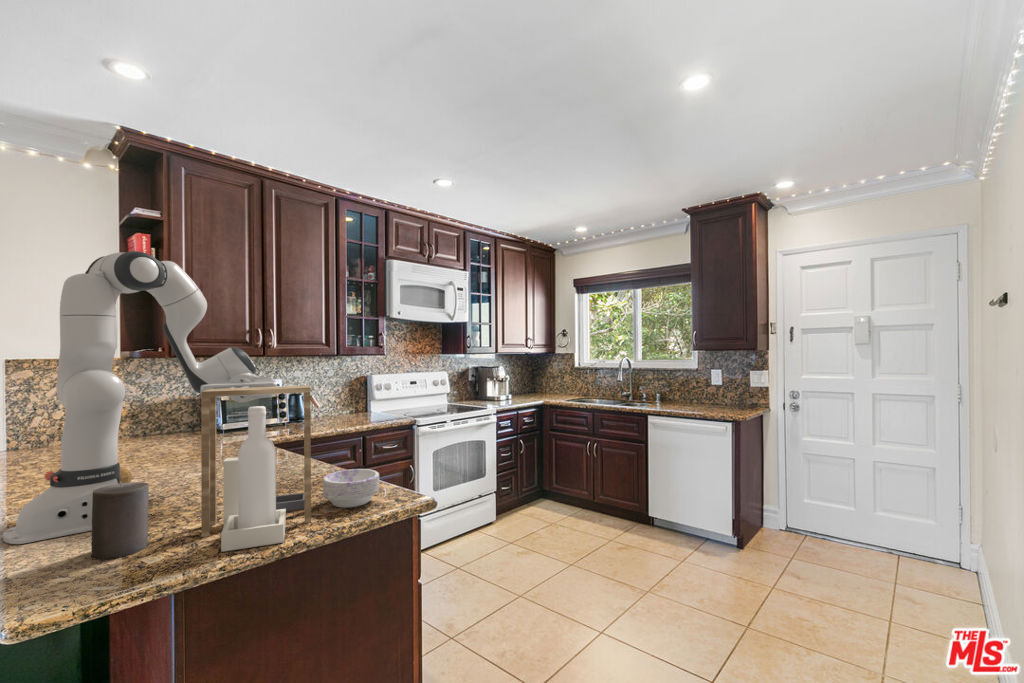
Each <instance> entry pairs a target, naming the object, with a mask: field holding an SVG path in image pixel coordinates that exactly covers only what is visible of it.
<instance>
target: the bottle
mask: <svg viewBox="0 0 1024 683" xmlns="http://www.w3.org/2000/svg"><path fill="white" fill-rule="evenodd" d="M266 410H267V408H266V406H264V405H260V406H259V405H256V406H249V407H248V410H247V413H246V414H247V419H248V420H247V425H248V426H247V432H248V433H247V437H248V438H246V439H245V440H244V441H243V442H242V443H241V444H240V446H239V448H238V452H237V457H238V529H243V528H250V527H257V526H264V525H271V524H277V521H276V496H277V455H276V454H277V450H276V447H275V443H274V442H273V441H272V440H271V439H270V438H269V437H267V432H266V429H267V426H266V425H267V424H266V417H267V416H266V415H267V411H266Z"/></svg>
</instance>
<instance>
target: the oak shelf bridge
mask: <svg viewBox="0 0 1024 683" xmlns="http://www.w3.org/2000/svg"><path fill="white" fill-rule="evenodd" d="M298 393H299V394H301V393H303V449H304V450H303V452H304V453H303V459H304V460H303V462H304V463H303V464H304V465H303V466H304V468H303V471H304V473H303V474H304V478H303V479H304V482H303V485H304V490H303V491H304V492H303V493H304V494H305V509H304V523H305V524H306V523H307V524H308V523H312V462H311V461H312V459H311V457H312V456H311V455H312V453H311V452H312V448H311V446H312V445H311V442H312V440H311V439H312V438H311V435H312V434H311V433H312V432H311V428H312V427H311V420H312V419H311V418H312V417H311V385H310V384H309V385H286V386H285V385H284V386H282V385H281V386H277V387H255V388H229V389H209V390H205V391H202V392H201V393H200V397H201V398H200V399H201V401H200V402H201V409H200V410H201V413H200V414H201V416H200V417H201V425H200V427H201V429H200V432H201V433H200V434H201V437H200V438H201V442H200V443H201V444H200V445H201V449H200V451H201V453H200V455H201V468H200V470H201V471H200V472H201V475H200V476H201V478H200V479H201V480H200V481H201V485H200V486H201V495H200V496H201V497H200V498H201V499H200V500H201V503H200V504H201V509H200V511H201V513H200V514H201V517H200V519H201V520H200V521H201V523H200V524H201V530H200V531H201V532H200V533H201V537H200V538H207V537H210V535H211V526H214V525H217V520H218V519H217V509H218V508H217V397H216V396H225V397H229V396H235V395H258V394H276V395H277V394H298Z"/></svg>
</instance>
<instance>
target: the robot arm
mask: <svg viewBox="0 0 1024 683" xmlns="http://www.w3.org/2000/svg"><path fill="white" fill-rule="evenodd" d="M63 282H64V283H63V285H62V290H61V294H60V302H59V339H60V340H59V342H60V343H59V345H60V346H59V347H60V348H59V356H58V368H57V379H56V395H57V396H56V397H57V400H58V401H59V402H60V404H62V405H63V406H64V407H65V417H64V418H65V419H64V423H63V424H64V425H63V431H62V434H61V437H60V438H61V439H60V443H61V444H60V469H59V470H57V471H55V472H54V471H47V472H46V473H45V474H44V476H43V478H44V479H45V480H47V481H49V487H48V488H47V489H45V490H44V491H43V492H41V493H40V494H38V495H37V496H36V497H35V498H32V499H31V500H30V501H29V502H27V503H26V504H24V505H23V506H22V508H20V510H19V513H18V516H17V519H16V523H15V526H14V527H10V528H9V529H6V530H5V531H4V532H3V533H2V540H3V542H5V543H6V544H11V545H21V544H23V545H24V544H28V543H32V542H37V541H43V540H44V541H45V540H49V539H53V538H60V537H63V536H70V535H75V534H79V533H84V532H90V531H91V532H92V498H93V491H94V490H95V489H97V488H100V487H104V486H108V485H113V484H119V483H120V467H121V464H120V462H119V456H118V454H119V441H118V440H119V430H120V424H121V420H122V419H121V418H122V413H123V405H124V404H123V403H124V399H125V396H126V387H125V385H124V382H123V381H122V380H121V378H119V376H117V374H114V373H113V367H114V360H115V354H116V351H117V348H118V342H117V341H118V338H117V336H118V335H117V334H118V333H117V329H118V328H117V309H116V305H117V300H118V298H119V296H120V295H121V294H134V293H139V292H141V291H145V292H148V293H149V294H150V295H152V297H154V299H155V300H156V301H157V303H158V304H159V306H161V308H162V310H163V311H164V315H165V321H164V323H163V325H162V328H163V331H164V335H165V337H166V338H167V341H168V343H169V345H170V348H171V349H172V351H173V352H174V354H175V357H176V358H177V360H178V362H179V364H180V366H181V368H182V369H183V372H184V374H185V376H186V380H187V382H188V385H189V386H190V388H191V389H192V390H193V391H194V392H195V393H197V394H201V392H202V391H205V390H209V389H229V388H255V387H278V382H277V380H275V379H274V377H273V376H258V375H257V374H256V371H257V366H256V365H255V362H254V361H253V359H252V357H250V356H249V354H248V353H247V352H246V351H245V350H243V349H242V348H239V347H236V346H231V347H228V348H226V349H224V350H223V351H221V352H218V353H217V354H215V355H213V356H211V357H210V358H208V359H206V360H204V361H202V362H197V360H196V358H195V356H194V354H193V351H192V350H191V349H190V347H189V344H188V342H187V338H188V336H189V334H190V333H191V332H192V330H194V329H195V327H196V326H197V325H198V324H199V323H200V322H201V321H202V319H203V318H204V317H205V315H206V312H207V309H208V301H207V299H206V298H205V296H204V294H203V292H202V290H201V289H200V288H199V287H198V285H197V284H196V283H195V281H194V280H193V279H192V278H191V277H190V276H189V275H188V274H187V272H185V270H184V269H183V268H182V267H181V266H179V264H177V263H176V262H174V261H171V260H162V261H160V260H158V259H157V258H155V257H154V256H153V255H151V254H148V253H147V252H143V251H136V250H131V251H126V252H114V253H110V254H107V255H105V256H103V255H102V256H100V257H98V258H96V259H95V260H94V261H93V262H91V263H90V265H89V266H88V268H87V269H86V271H85V273H79V274H78V273H77V274H74V275H71V276H69V277H67V278H66V279H65V281H63ZM276 395H277V394H258V395H235V396H228V397H229V398H230V399H231V400H232V401H234V402H236V403H248V402H250V401H255V400H259V399H265V398H267V399H268V398H273V397H274V396H276ZM222 397H226V396H216V398H222Z"/></svg>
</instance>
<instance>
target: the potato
mask: <svg viewBox="0 0 1024 683" xmlns="http://www.w3.org/2000/svg"><path fill="white" fill-rule="evenodd" d="M132 478H133V476H132V472H131V471H130V470H129V469H128V468H125V467H122V466H120V481H121V483H129V482H132ZM119 484H120V483H119Z"/></svg>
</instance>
